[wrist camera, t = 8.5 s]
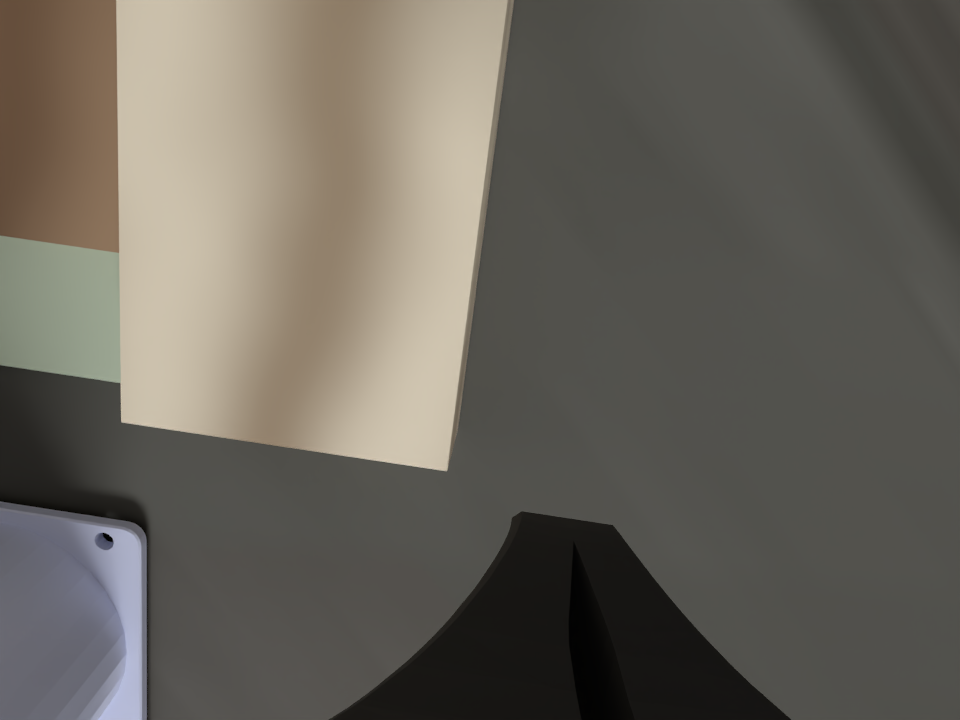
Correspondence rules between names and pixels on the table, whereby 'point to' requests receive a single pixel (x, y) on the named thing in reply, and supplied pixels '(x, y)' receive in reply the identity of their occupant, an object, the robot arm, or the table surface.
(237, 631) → the table surface
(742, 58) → the table surface
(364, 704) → the robot arm
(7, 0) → the tile
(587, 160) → the table surface
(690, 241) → the table surface
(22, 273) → the mat
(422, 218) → the beige flat block
